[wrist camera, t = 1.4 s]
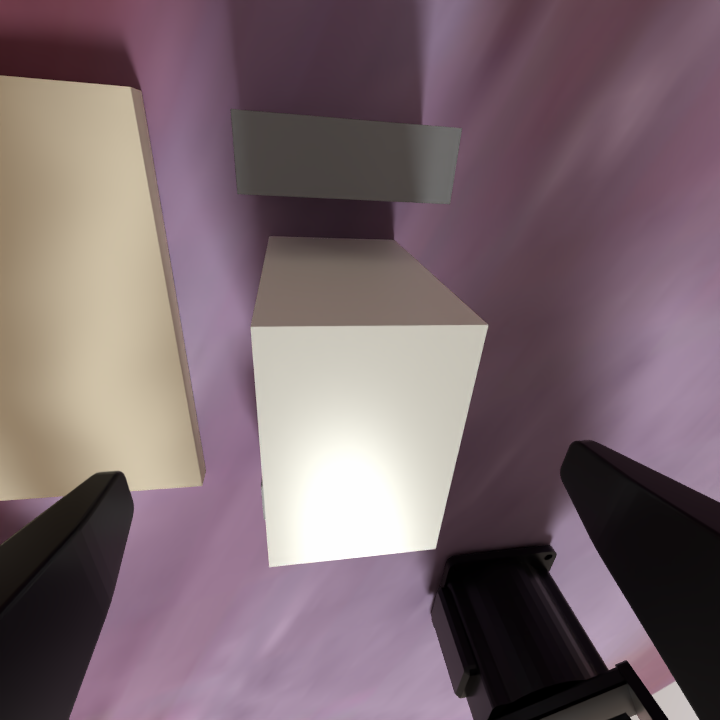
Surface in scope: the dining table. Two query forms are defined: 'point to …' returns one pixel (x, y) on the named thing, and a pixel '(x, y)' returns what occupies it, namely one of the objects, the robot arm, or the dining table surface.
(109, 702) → the dining table surface
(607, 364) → the dining table surface
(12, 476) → the birch board
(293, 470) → the white block
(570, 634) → the robot arm
